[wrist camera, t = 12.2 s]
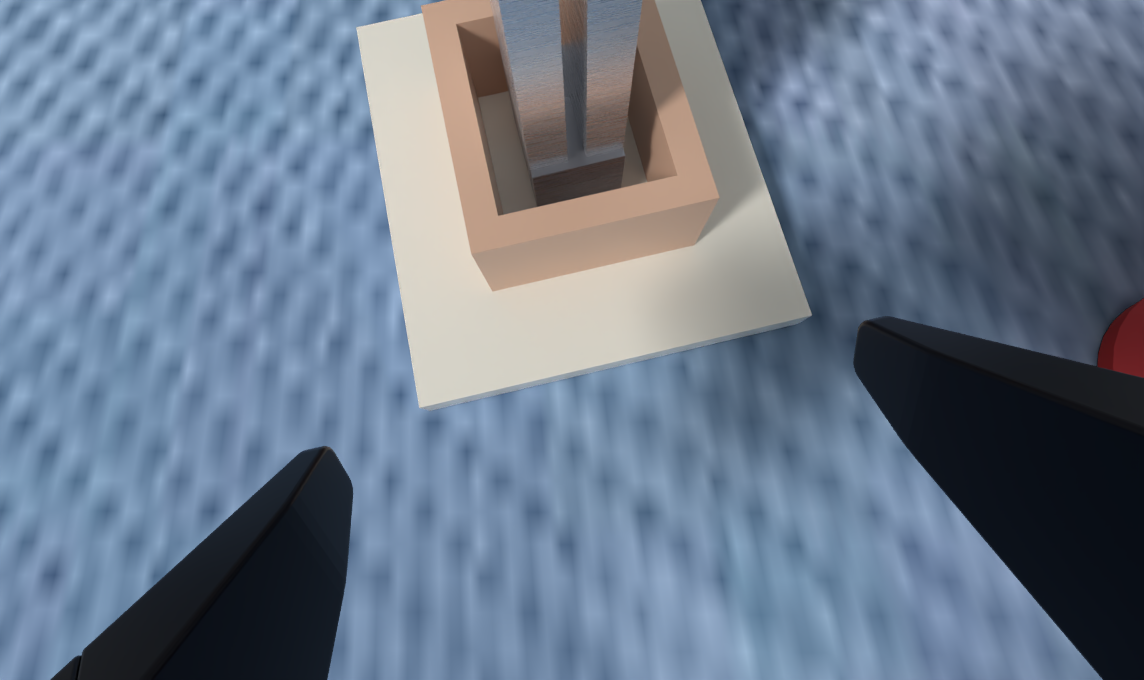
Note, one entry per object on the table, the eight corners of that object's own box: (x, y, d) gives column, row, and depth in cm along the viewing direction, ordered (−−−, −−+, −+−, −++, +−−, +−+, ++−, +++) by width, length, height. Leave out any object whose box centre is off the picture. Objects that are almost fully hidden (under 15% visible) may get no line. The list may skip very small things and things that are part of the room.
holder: (798, 323, 19) (867, 282, 14) (430, 410, 18) (378, 396, 14) (680, -17, 22) (704, -139, 18) (368, 50, 22) (311, -57, 17)
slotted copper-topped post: (621, 201, 19) (699, -325, 6) (537, 221, 19) (439, -270, 6) (591, 99, 20) (604, -535, 7) (511, 118, 20) (379, -491, 7)
